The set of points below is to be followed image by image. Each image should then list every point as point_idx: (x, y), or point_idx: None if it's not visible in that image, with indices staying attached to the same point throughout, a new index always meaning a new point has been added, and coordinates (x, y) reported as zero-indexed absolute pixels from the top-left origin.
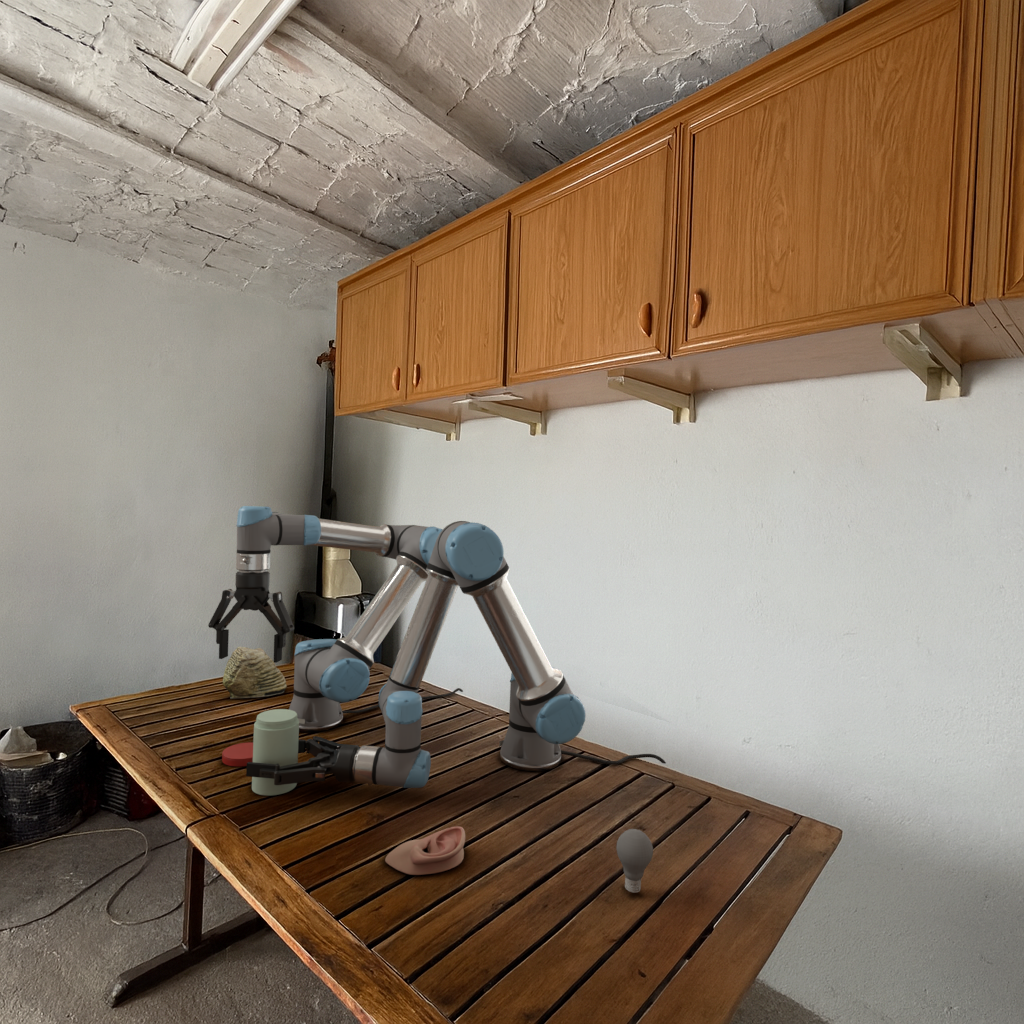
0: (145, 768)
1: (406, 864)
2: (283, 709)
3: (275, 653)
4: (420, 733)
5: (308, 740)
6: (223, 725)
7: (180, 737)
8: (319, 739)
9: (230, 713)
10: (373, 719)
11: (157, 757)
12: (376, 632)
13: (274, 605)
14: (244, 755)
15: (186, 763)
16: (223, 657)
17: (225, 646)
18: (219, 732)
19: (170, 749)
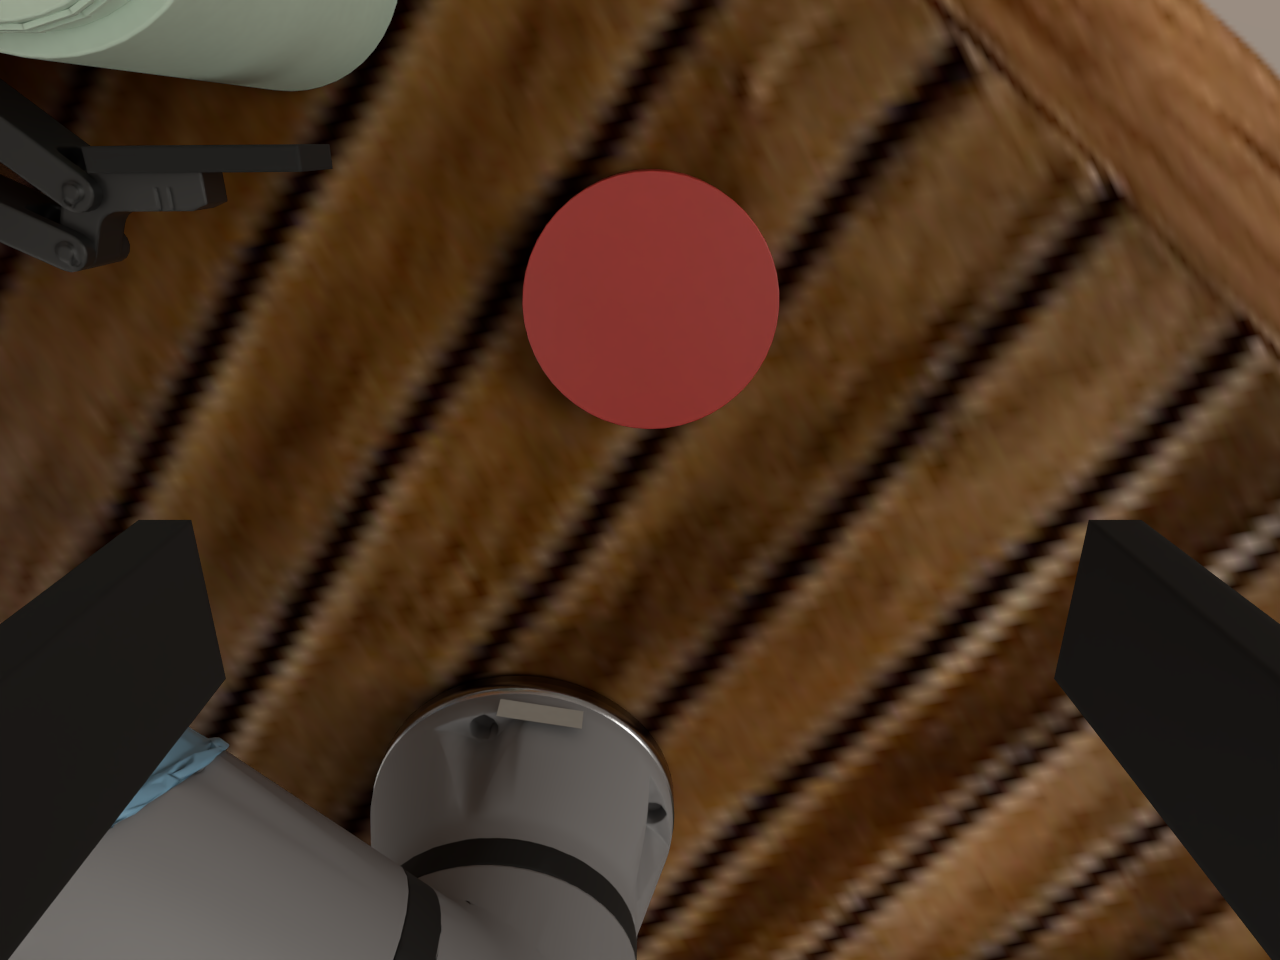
0: (1156, 31)
1: None
2: (5, 7)
3: (64, 592)
4: None
5: (74, 180)
6: (979, 681)
7: (1142, 493)
8: (12, 215)
9: (1013, 824)
10: None
11: (1153, 203)
12: None
13: None
14: (615, 232)
15: (945, 155)
16: (1084, 570)
17: (1173, 723)
18: (958, 594)
19: (1127, 327)
